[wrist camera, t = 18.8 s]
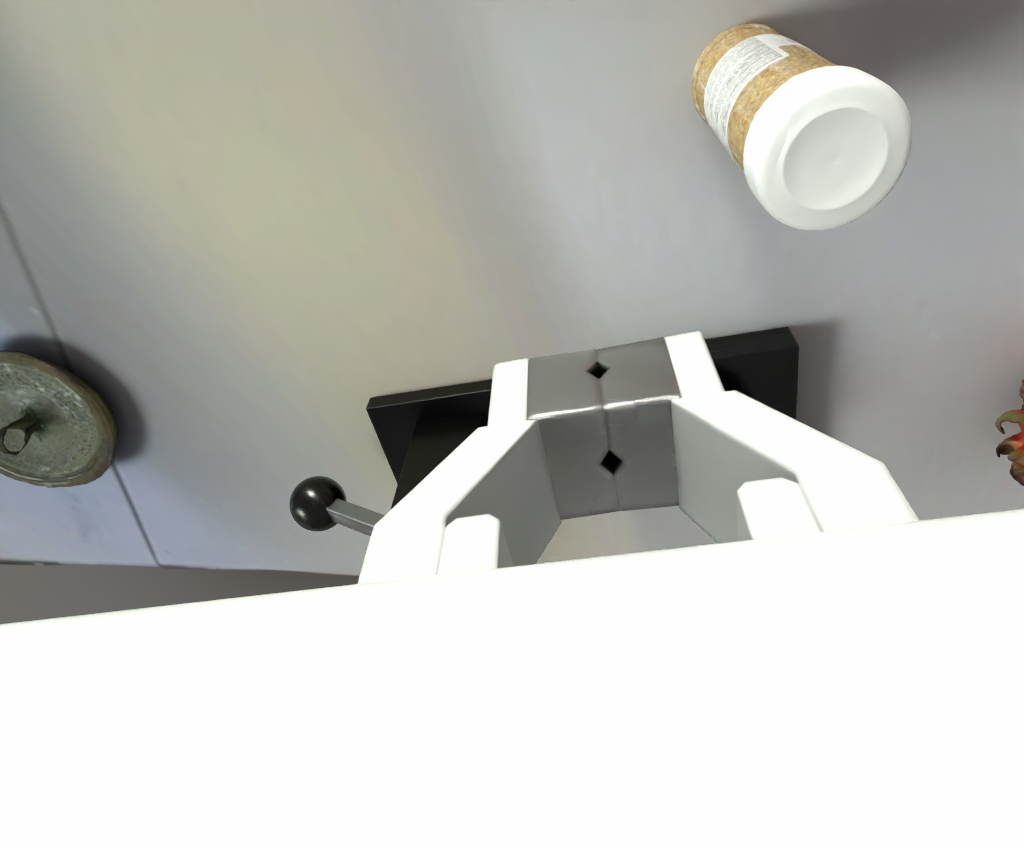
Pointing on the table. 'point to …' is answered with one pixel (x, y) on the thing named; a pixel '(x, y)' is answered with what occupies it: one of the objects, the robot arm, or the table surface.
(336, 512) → the lever
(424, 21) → the table surface
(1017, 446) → the dragon fruit
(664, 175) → the table surface
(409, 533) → the robot arm
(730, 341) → the button block
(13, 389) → the metal shank button
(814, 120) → the spice jar
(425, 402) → the switch bracket
